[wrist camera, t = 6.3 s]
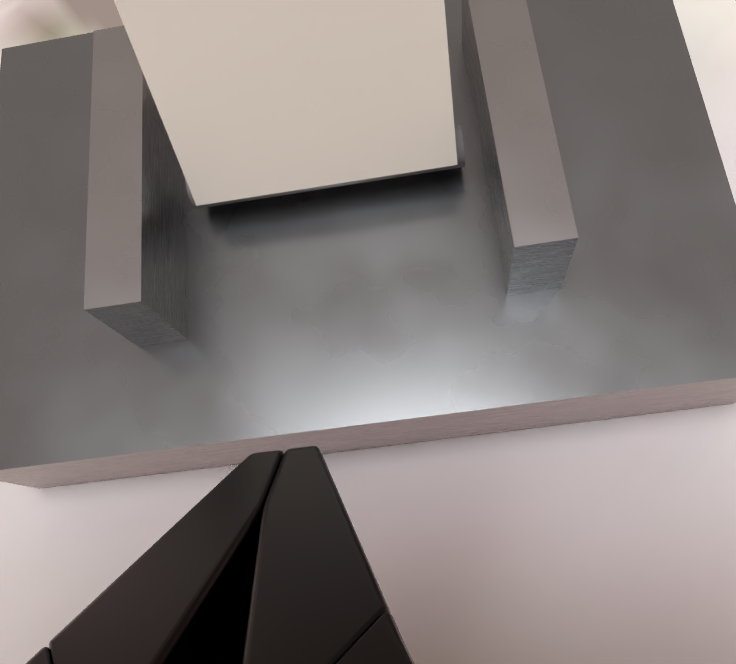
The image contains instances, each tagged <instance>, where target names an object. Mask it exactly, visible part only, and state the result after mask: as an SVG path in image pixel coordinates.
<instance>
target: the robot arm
mask: <svg viewBox="0 0 736 664" xmlns="http://www.w3.org/2000/svg"><path fill="white" fill-rule="evenodd" d="M49 648H50V649H49ZM49 648H48V647H44V648H42V649H41V650H40V651H39V652H38V653H37V654H36V655H35V656H34V657H33V658H31V659H30V660H29V661H28V662H27V663H26V664H414V662H413V660H412V658H411V656H410V654H409V652H408V650H407V648H406V646H405V644H404V642H403V640H402V637H401V635H400V633H399V630H398V628H397V626H396V623H395V621H394V619H393V617H392V615H391V614H390V611H389V608H388V606H387V603H386V601H385V599H384V596H383V594H382V592H381V590H380V587H379V585H378V583H377V580H376V578H375V576H374V573H373V571H372V569H371V567H370V564H369V562H368V560H367V557H366V555H365V553H364V550H363V548H362V546H361V543H360V541H359V539H358V537H357V534H356V532H355V530H354V527H353V525H352V523H351V520H350V518H349V516H348V513H347V511H346V509H345V507H344V504H343V502H342V500H341V497H340V495H339V493H338V490H337V488H336V486H335V484H334V481H333V479H332V477H331V474H330V472H329V470H328V467H327V465H326V463H325V460H324V458H323V456H322V454H321V451H320V449H319V448H318V447H317V446H307V447H300V448H292V449H288V450H286V451H285V453H284V452H283V451H281V450H275V451H267V452H259V453H253V454H251V455H249V456H248V457H247V458H246V459H245V460H244V461H243V462H242V463H240V464H239V465H238V466H237V467H236V468H235V469H234V470H233V471H232V472H231V473H230V474H229V475H228V476H227V477H225V478H224V479H223V480H222V481H221V482H220V483H219V484H218V485H217V486H216V487H215V488H214V489H213V490H212V491H210V492H209V493H208V494H207V495H206V496H205V497H204V498H203V499H202V500H201V501H200V502H199V503H198V504H197V505H196V506H194V507H193V508H192V509H191V510H190V511H189V512H188V513H187V514H186V515H185V516H184V517H183V518H182V519H181V520H179V521H178V522H177V523H176V524H175V525H174V526H173V527H172V528H171V529H170V530H169V531H168V532H167V533H166V534H164V535H163V536H162V537H161V538H160V539H159V540H158V541H157V542H156V543H155V544H154V545H153V546H152V547H151V548H150V549H148V550H147V551H146V552H145V553H144V554H143V555H142V556H141V557H140V558H139V559H138V560H137V561H136V562H135V563H133V564H132V565H131V566H130V567H129V568H128V569H127V570H126V571H125V572H124V573H123V574H122V575H121V576H120V577H118V578H117V579H116V580H115V581H114V582H113V583H112V584H111V585H110V586H109V587H108V588H107V589H106V590H105V591H103V592H102V593H101V594H100V595H99V596H98V597H97V598H96V599H95V600H94V601H93V602H92V603H91V604H90V605H89V606H87V607H86V608H85V609H84V610H83V611H82V612H81V613H80V614H79V615H78V616H77V617H76V618H75V619H73V620H72V621H71V622H70V623H69V624H68V625H67V626H66V627H65V628H64V629H63V630H62V631H61V632H60V633H58V634H57V635H56V636H55V637H54V638H53V639H52V640H51V641H50V643H49Z"/></svg>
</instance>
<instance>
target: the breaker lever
mask: <svg viewBox="0 0 736 664" xmlns="http://www.w3.org/2000/svg"><path fill="white" fill-rule="evenodd" d="M114 2H115V4H116V7H117V9H118V12H119V14H120V17H121V19H122V22H123V24H124V27H125V29H126V32H127V34H128V37H129V39H130V42H131V44H132V47H133V49H134V52H135V54H136V57H137V59H138V62H139V64H140V67H141V69H142V72H143V74H144V77H145V79H146V82H147V84H148V87H149V89H150V92H151V94H152V97H153V99H154V102H155V104H156V107H157V109H158V112H159V114H160V116H161V119H162V121H163V124H164V126H165V129H166V131H167V134H168V136H169V139H170V141H171V144H172V146H173V149H174V151H175V154H176V156H177V159H178V161H179V164H180V166H181V169H182V171H183V174H184V176H185V182H186V188H187V192H188V196H189V199H190V201H191V203H192V205H193V206H194V207H195V208H196V209H199V208H205V207H211V206H218V205H224V204H231V203H237V202H243V201H250V200H256V199H262V198H269V197H275V196H282V195H288V194H294V193H301V192H307V191H314V190H320V189H326V188H333V187H339V186H345V185H352V184H358V183H365V182H371V181H377V180H384V179H390V178H396V177H403V176H409V175H416V174H422V173H428V172H435V171H441V170H448V169H454V168H460V167H465V153H464V143H463V136H462V130H461V125H460V122H458V123H454V115H453V103H452V90H451V78H450V66H449V53H448V41H447V28H446V16H445V4H444V0H114Z"/></svg>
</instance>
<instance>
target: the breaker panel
mask: <svg viewBox="0 0 736 664" xmlns="http://www.w3.org/2000/svg"><path fill="white" fill-rule="evenodd" d="M444 4H445V16H446V28H447V41H448V53H449V66H450V78H451V90H452V103H453V115H454V123H458V122H460V125H461V130H462V136H463V143H464V153H465V167H460V168H454V169H448V170H441V171H435V172H428V173H422V174H416V175H409V176H403V177H396V178H390V179H384V180H377V181H371V182H365V183H358V184H352V185H345V186H339V187H333V188H326V189H320V190H314V191H307V192H301V193H294V194H288V195H282V196H275V197H269V198H262V199H256V200H250V201H243V202H237V203H231V204H224V205H218V206H211V207H205V208H199V209H196V208H195V207H194V206H193V205H192V203H191V201H190V199H189V196H188V192H187V188H186V182H185V176H184V174H183V171H182V169H181V166H180V164H179V161H178V159H177V156H176V154H175V151H174V149H173V146H172V144H171V141H170V139H169V136H168V134H167V131H166V129H165V126H164V124H163V121H162V119H161V116H160V114H159V112H158V109H157V107H156V104H155V102H154V99H153V97H152V94H151V92H150V89H149V87H148V84H147V82H146V79H145V77H144V74H143V72H142V69H141V67H140V64H139V62H138V59H137V57H136V54H135V52H134V49H133V47H132V44H131V42H130V39H129V37H128V34H127V32H126V29H125V27H124V26H119V27H114V28H108V29H102V30H97V31H94V32H93V33H87V34H82V35H76V36H71V37H65V38H60V39H54V40H49V41H43V42H38V43H32V44H27V45H21V46H16V47H10V48H5V49H2V57H1V68H0V481H2V482H8V483H13V484H18V485H24V486H29V487H35V488H47V487H55V486H63V485H71V484H80V483H88V482H96V481H104V480H112V479H120V478H129V477H137V476H145V475H153V474H161V473H169V472H178V471H186V470H194V469H202V468H210V467H218V466H226V465H235V464H240V463H242V462H243V461H244V460H245V459H246V458H247V457H248V456H249V455H251V454H253V453H259V452H267V451H275V450H281V451H283V452H284V453H285V451H286V450H288V449H292V448H300V447H307V446H317V447H318V448H319V449H320V451H321V454H324V453H333V452H341V451H349V450H357V449H365V448H373V447H382V446H390V445H398V444H406V443H414V442H422V441H431V440H439V439H447V438H455V437H463V436H471V435H480V434H488V433H496V432H504V431H512V430H520V429H528V428H537V427H545V426H553V425H561V424H569V423H577V422H586V421H594V420H602V419H610V418H618V417H626V416H635V415H643V414H651V413H659V412H667V411H675V410H684V409H692V408H700V407H708V406H716V405H724V404H733V403H735V402H736V205H735V202H734V199H733V195H732V192H731V189H730V186H729V182H728V179H727V176H726V173H725V169H724V166H723V163H722V160H721V156H720V153H719V150H718V147H717V143H716V140H715V137H714V134H713V130H712V127H711V124H710V121H709V117H708V114H707V111H706V108H705V104H704V101H703V98H702V95H701V91H700V88H699V85H698V82H697V78H696V75H695V72H694V69H693V65H692V62H691V59H690V56H689V52H688V49H687V46H686V43H685V39H684V36H683V33H682V30H681V26H680V23H679V20H678V17H677V13H676V10H675V7H674V4H673V0H444Z"/></svg>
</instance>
